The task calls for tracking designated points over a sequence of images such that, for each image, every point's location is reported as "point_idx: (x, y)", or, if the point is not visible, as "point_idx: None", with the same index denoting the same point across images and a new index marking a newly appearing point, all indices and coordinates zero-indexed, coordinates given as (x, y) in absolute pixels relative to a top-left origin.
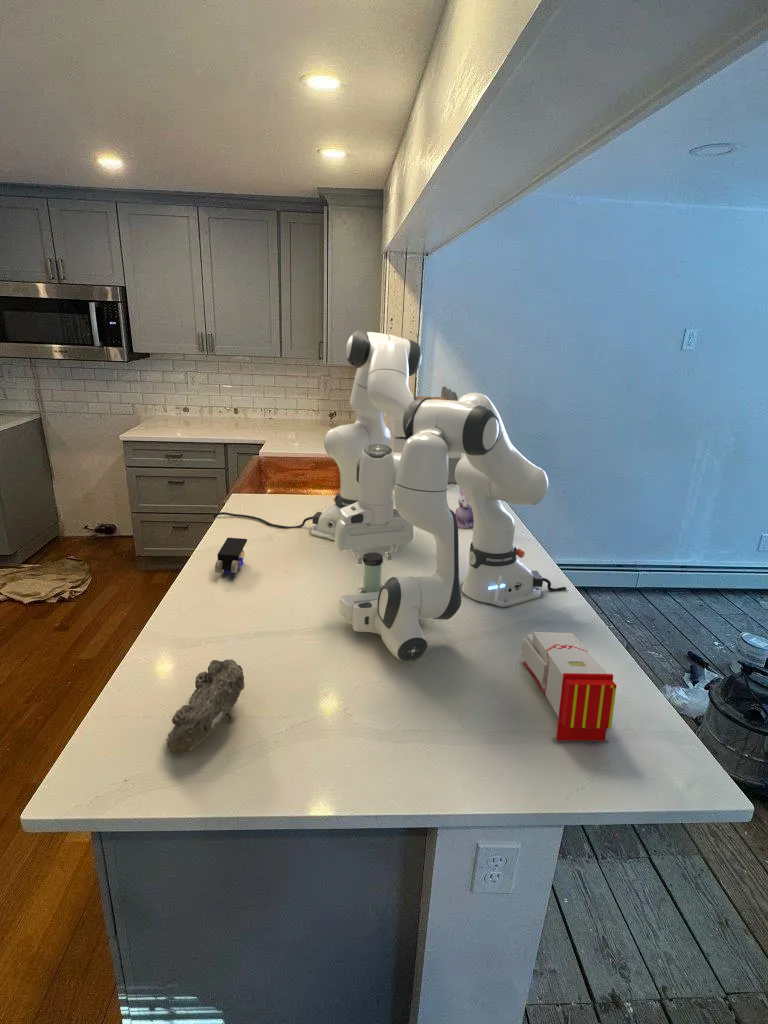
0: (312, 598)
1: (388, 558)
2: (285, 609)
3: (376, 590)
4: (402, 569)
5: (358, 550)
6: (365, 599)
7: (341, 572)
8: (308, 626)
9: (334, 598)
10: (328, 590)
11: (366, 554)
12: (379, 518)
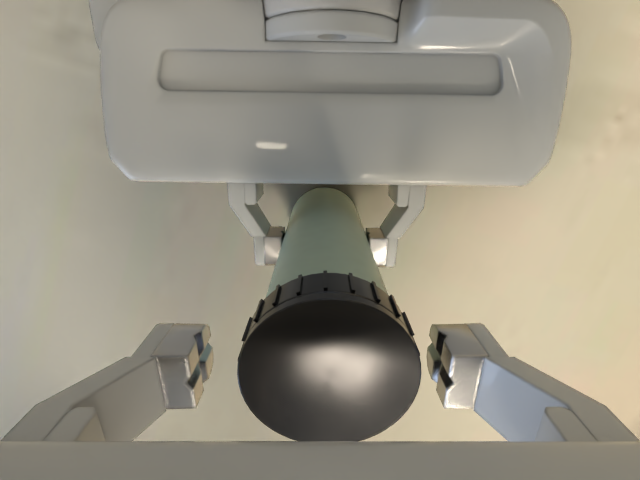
0: (496, 332)
1: (192, 333)
2: (614, 289)
3: (315, 213)
4: None
5: (558, 430)
6: (425, 104)
7: None
8: (602, 154)
9: (426, 314)
10: (424, 366)
11: (373, 417)
12: None
